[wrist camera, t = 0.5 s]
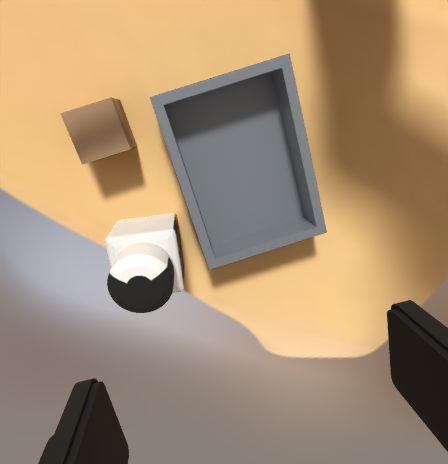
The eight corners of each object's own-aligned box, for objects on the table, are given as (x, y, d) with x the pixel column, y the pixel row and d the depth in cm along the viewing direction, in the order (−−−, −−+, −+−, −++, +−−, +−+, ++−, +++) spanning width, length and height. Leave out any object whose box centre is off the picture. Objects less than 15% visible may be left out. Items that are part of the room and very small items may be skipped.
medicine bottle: (184, 265, 44) (184, 316, 33) (128, 273, 44) (108, 327, 33) (176, 211, 42) (173, 246, 31) (116, 219, 42) (91, 257, 30)
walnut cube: (75, 114, 38) (60, 113, 33) (120, 100, 38) (110, 97, 33) (94, 158, 39) (82, 164, 35) (137, 145, 39) (130, 149, 35)
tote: (154, 99, 38) (149, 97, 33) (276, 61, 38) (289, 53, 33) (206, 253, 44) (209, 269, 40) (311, 220, 44) (326, 232, 40)
